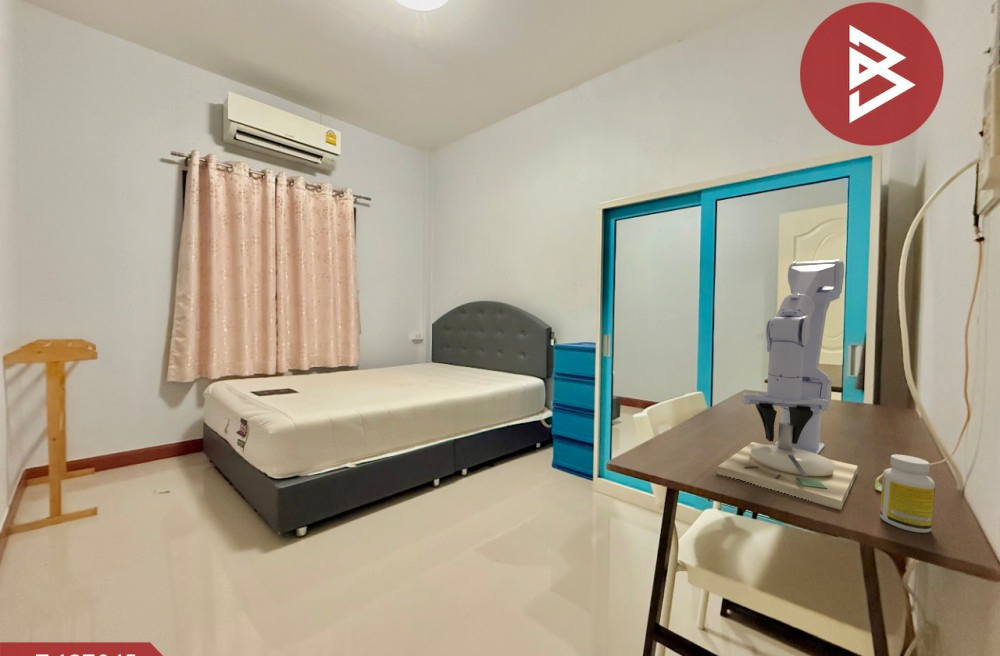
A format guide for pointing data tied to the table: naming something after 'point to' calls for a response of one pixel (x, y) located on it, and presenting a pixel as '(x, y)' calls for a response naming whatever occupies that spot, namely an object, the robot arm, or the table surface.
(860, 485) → the table surface
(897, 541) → the table surface
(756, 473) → the dial board
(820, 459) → the tuning knob
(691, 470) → the table surface
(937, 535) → the table surface
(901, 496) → the supplement bottle
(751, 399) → the robot arm
